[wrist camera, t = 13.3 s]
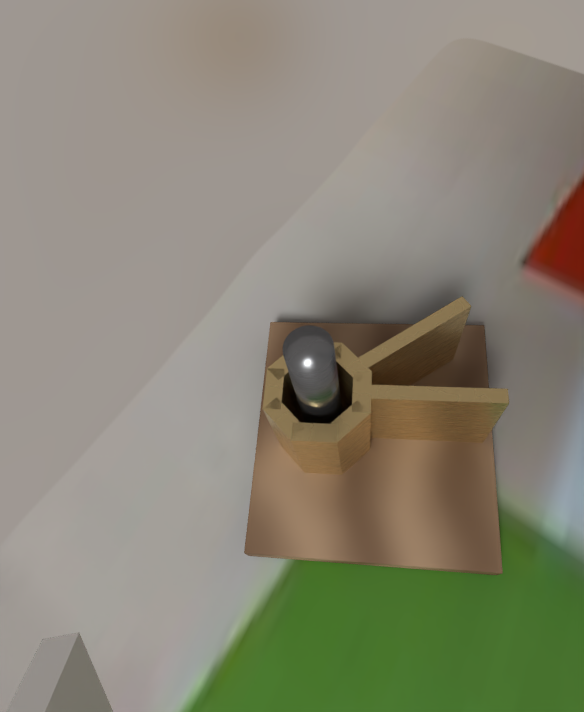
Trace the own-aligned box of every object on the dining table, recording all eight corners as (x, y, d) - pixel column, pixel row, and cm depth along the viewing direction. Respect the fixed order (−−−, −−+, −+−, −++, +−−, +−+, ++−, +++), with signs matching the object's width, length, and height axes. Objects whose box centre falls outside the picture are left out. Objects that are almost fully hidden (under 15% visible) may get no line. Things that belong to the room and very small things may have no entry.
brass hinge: (476, 351, 37) (499, 296, 31) (485, 482, 33) (513, 450, 27) (290, 347, 39) (275, 294, 33) (278, 471, 35) (259, 439, 29)
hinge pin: (345, 413, 36) (335, 325, 26) (343, 448, 35) (332, 372, 25) (309, 412, 37) (285, 324, 26) (306, 447, 36) (280, 370, 25)
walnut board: (480, 335, 39) (484, 325, 38) (496, 575, 32) (502, 573, 31) (273, 331, 41) (270, 322, 40) (249, 555, 35) (244, 553, 33)
